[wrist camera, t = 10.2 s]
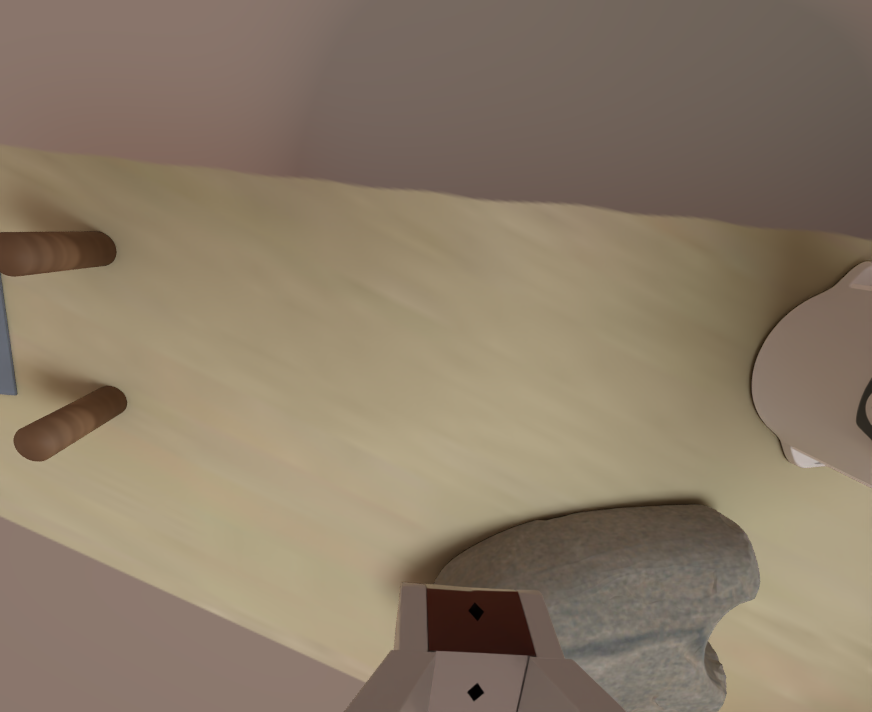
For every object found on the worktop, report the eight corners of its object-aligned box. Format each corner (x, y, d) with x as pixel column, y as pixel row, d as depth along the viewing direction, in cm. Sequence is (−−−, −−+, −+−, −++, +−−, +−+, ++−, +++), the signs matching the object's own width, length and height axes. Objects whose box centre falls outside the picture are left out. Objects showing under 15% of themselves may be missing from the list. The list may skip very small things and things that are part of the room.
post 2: (125, 387, 38) (52, 428, 30) (127, 416, 39) (56, 462, 31) (93, 384, 38) (11, 424, 30) (96, 413, 38) (16, 459, 31)
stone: (411, 732, 39) (442, 541, 33) (417, 628, 49) (443, 466, 43) (730, 767, 40) (818, 586, 34) (673, 657, 49) (733, 502, 43)
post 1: (115, 233, 35) (29, 235, 27) (117, 267, 35) (34, 278, 28) (79, 229, 34) (-18, 229, 27) (82, 263, 35) (-11, 274, 27)
